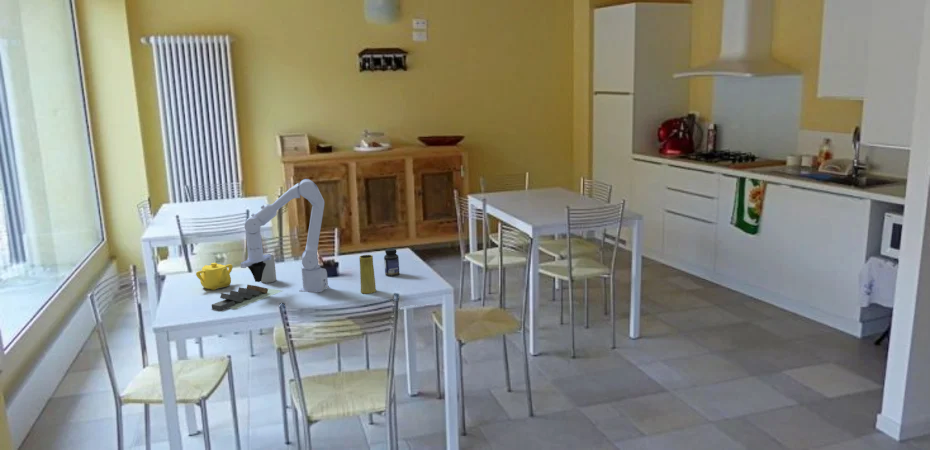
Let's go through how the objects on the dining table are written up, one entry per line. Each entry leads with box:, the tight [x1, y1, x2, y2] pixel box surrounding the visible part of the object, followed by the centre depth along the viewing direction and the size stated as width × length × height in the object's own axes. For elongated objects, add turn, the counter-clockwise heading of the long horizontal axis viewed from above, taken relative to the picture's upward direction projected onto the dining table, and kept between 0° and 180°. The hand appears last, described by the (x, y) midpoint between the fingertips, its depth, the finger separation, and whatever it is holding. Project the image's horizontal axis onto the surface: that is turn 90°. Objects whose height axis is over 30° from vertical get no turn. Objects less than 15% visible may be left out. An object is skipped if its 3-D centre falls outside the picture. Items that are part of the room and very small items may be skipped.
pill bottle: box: [383, 248, 400, 277], centre depth 301 cm, size 6×6×11 cm
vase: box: [359, 254, 377, 295], centre depth 277 cm, size 6×6×14 cm
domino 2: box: [219, 292, 243, 303], centre depth 268 cm, size 2×4×7 cm
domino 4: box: [237, 286, 260, 296], centre depth 275 cm, size 2×4×7 cm
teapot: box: [195, 262, 233, 291], centre depth 292 cm, size 14×13×10 cm
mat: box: [228, 287, 283, 310], centre depth 276 cm, size 25×12×1 cm, turn 151°
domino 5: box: [246, 284, 269, 293], centre depth 279 cm, size 2×4×7 cm
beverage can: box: [260, 252, 277, 284], centre depth 297 cm, size 6×6×12 cm
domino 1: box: [211, 299, 235, 312], centre depth 264 cm, size 2×4×7 cm
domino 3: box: [229, 290, 252, 299], centre depth 272 cm, size 2×4×7 cm
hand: (258, 281), depth 279 cm, fingers closed
